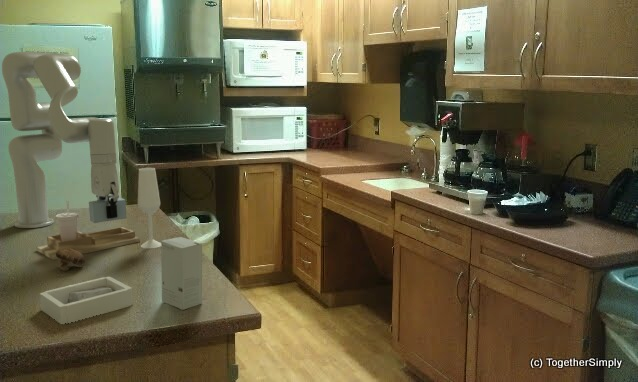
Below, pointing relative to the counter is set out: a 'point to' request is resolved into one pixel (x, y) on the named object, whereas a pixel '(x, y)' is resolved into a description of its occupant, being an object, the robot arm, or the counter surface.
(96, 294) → the soap bar
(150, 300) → the counter surface
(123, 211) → the pale grey block
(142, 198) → the champagne flute
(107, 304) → the soap dish rim
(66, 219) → the smoothie
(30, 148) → the robot arm
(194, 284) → the skincare box
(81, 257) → the mushroom
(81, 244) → the tray
